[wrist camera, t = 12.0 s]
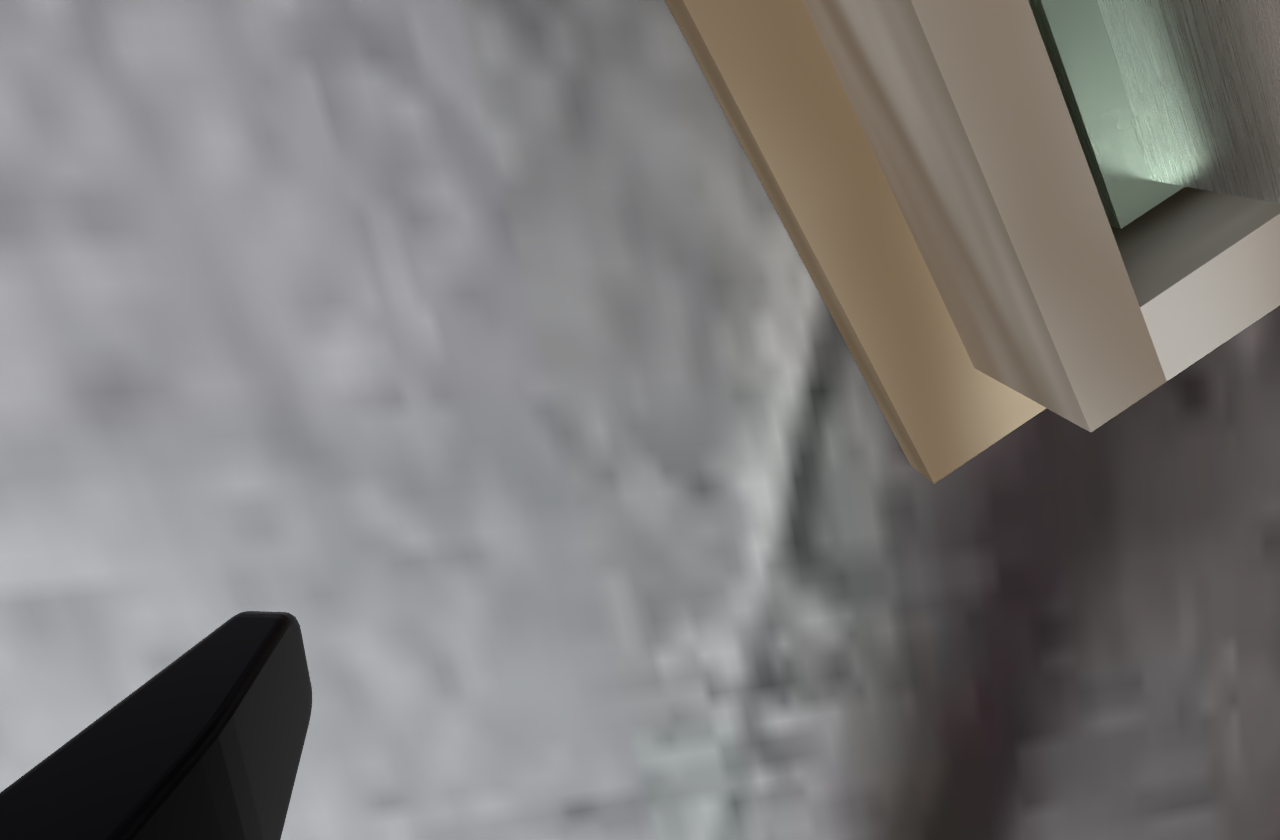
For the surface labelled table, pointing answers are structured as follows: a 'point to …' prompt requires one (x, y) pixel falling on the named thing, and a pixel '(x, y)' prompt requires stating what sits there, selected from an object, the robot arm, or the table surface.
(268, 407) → the table surface
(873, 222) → the block holder
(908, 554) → the table surface
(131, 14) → the table surface
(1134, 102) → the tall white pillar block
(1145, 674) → the table surface
